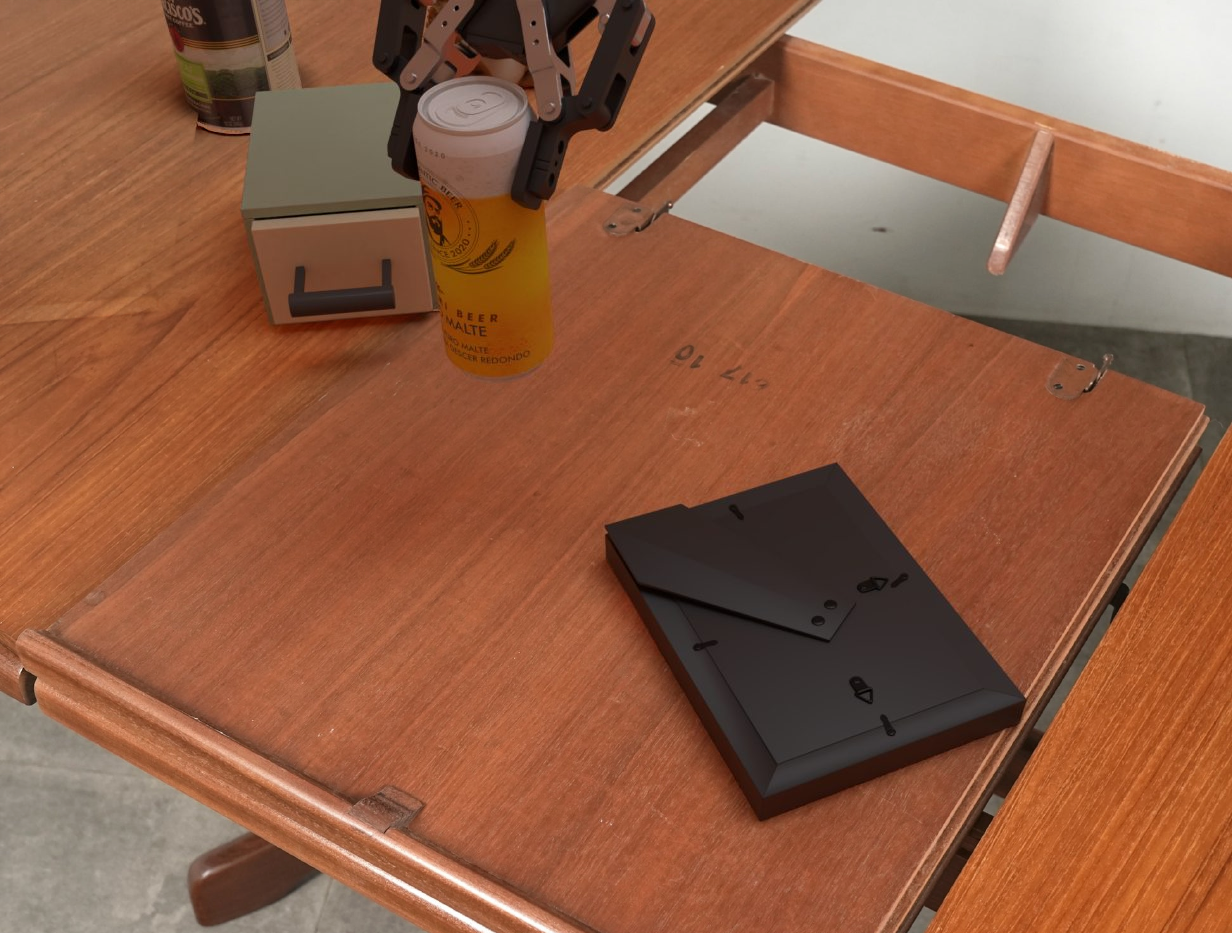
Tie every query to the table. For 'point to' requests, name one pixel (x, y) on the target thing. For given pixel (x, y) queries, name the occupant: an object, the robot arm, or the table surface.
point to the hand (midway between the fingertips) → (464, 189)
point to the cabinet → (325, 160)
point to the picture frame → (807, 637)
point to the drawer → (343, 264)
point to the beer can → (483, 228)
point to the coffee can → (231, 55)
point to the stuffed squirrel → (488, 66)
